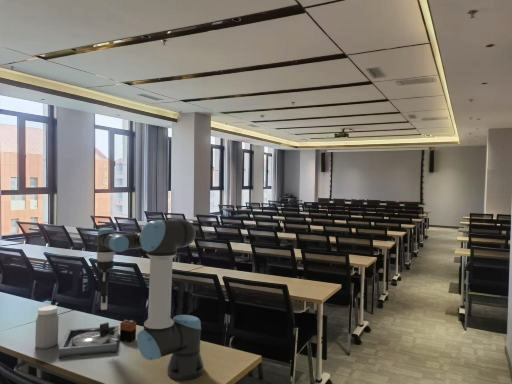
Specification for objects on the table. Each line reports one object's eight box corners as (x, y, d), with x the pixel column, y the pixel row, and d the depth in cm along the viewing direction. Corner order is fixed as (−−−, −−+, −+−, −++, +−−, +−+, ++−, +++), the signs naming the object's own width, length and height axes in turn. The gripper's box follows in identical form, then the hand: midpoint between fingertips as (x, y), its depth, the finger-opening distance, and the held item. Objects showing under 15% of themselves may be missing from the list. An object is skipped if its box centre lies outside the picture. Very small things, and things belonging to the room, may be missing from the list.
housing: (117, 352, 176) (118, 343, 176) (58, 358, 168) (58, 348, 168) (119, 333, 199) (120, 325, 199) (67, 337, 191) (68, 329, 191)
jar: (47, 340, 187) (48, 303, 187) (62, 343, 184) (63, 306, 184) (29, 347, 178) (31, 309, 178) (46, 351, 175) (47, 312, 175)
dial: (80, 352, 171) (80, 336, 171) (65, 341, 183) (66, 326, 183) (115, 342, 184) (116, 327, 184) (100, 332, 195) (100, 318, 195)
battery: (130, 342, 187) (130, 322, 187) (119, 340, 190) (120, 320, 190) (136, 339, 191) (136, 320, 191) (125, 337, 194) (125, 318, 194)
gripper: (112, 262, 177) (111, 312, 177) (114, 257, 190) (113, 304, 190) (95, 263, 175) (94, 313, 175) (98, 258, 187) (96, 305, 187)
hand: (103, 309), depth 182 cm, fingers closed
